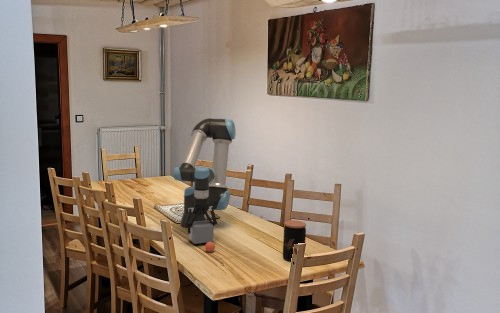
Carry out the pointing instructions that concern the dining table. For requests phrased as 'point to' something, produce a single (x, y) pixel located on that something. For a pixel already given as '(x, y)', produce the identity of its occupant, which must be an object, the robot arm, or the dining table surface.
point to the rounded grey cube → (202, 232)
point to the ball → (210, 246)
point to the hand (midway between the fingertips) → (200, 238)
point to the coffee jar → (293, 237)
